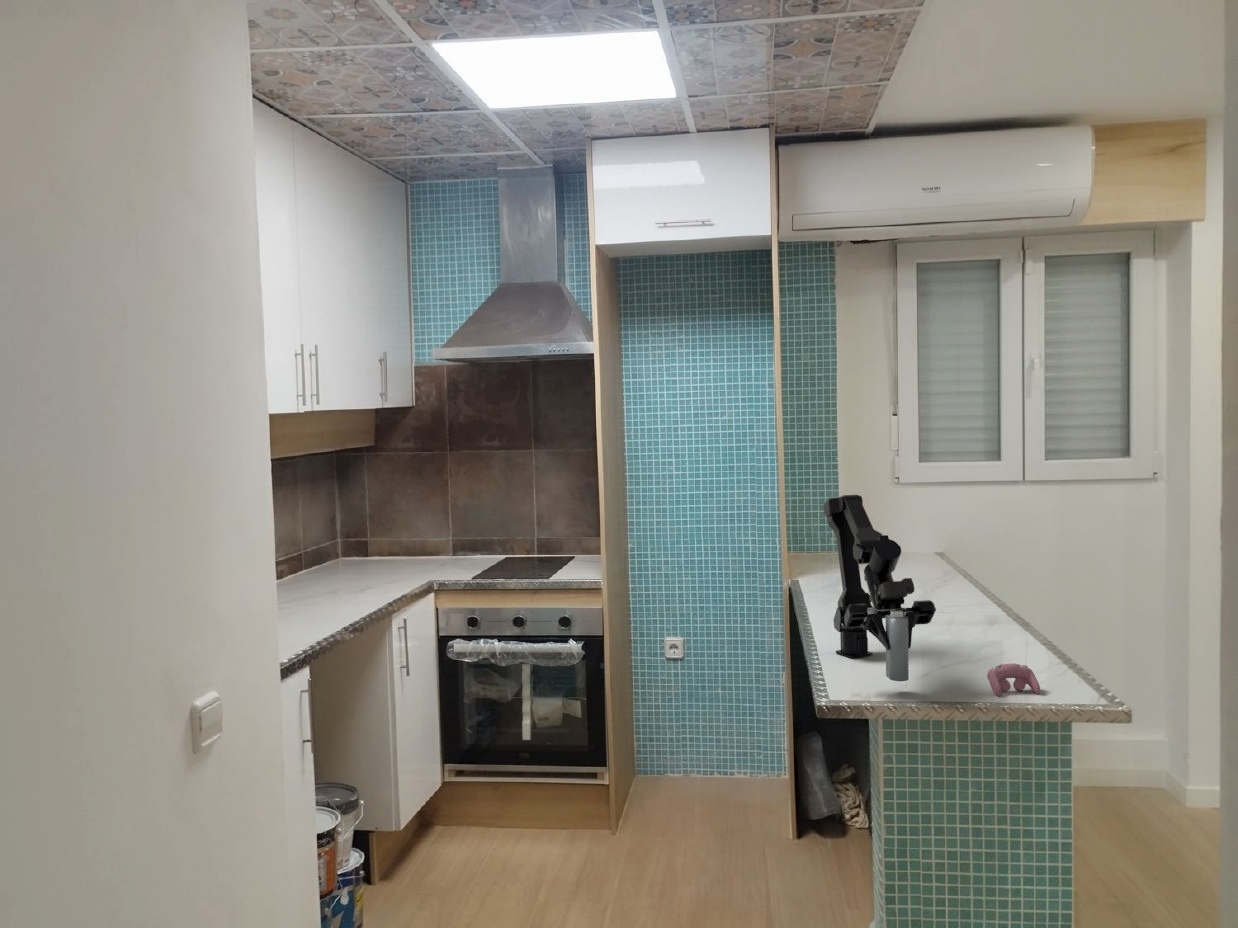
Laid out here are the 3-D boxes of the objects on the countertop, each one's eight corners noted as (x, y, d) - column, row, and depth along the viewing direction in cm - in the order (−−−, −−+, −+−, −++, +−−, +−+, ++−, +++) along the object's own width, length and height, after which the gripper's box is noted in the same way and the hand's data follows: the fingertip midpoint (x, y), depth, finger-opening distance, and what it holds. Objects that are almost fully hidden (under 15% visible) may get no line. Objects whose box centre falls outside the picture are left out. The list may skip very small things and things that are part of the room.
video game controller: (1034, 697, 214) (1027, 664, 217) (1043, 693, 210) (1036, 659, 213) (988, 699, 214) (982, 666, 216) (996, 695, 210) (990, 662, 212)
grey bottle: (883, 673, 218) (883, 608, 217) (901, 672, 218) (901, 607, 217) (892, 681, 212) (892, 614, 211) (911, 680, 212) (910, 614, 211)
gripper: (846, 567, 216) (863, 630, 206) (931, 563, 217) (952, 625, 207) (837, 596, 225) (852, 658, 215) (919, 592, 226) (938, 653, 216)
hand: (899, 648), depth 213 cm, fingers closed on grey bottle, 4 cm apart
